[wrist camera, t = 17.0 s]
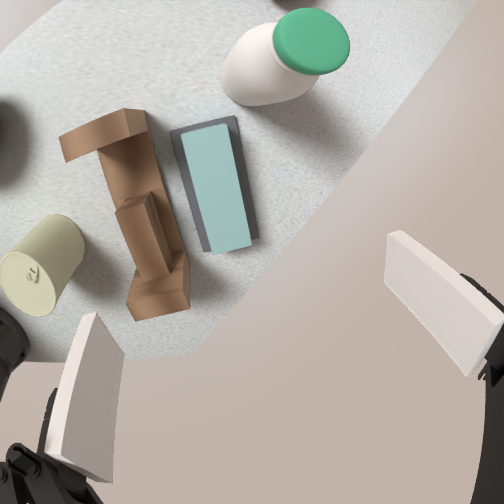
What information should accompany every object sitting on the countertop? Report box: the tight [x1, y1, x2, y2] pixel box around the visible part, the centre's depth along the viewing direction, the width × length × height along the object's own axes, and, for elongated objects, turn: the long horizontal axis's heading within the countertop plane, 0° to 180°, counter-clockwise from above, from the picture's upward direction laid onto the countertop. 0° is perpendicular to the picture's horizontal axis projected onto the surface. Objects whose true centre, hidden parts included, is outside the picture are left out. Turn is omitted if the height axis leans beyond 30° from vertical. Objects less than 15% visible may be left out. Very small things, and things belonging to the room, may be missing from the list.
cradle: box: [59, 108, 190, 321], centre depth 29 cm, size 7×22×10 cm, turn 11°
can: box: [0, 214, 85, 317], centre depth 28 cm, size 9×9×12 cm
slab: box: [181, 123, 252, 255], centre depth 32 cm, size 5×15×4 cm, turn 11°
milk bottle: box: [220, 8, 350, 106], centre depth 20 cm, size 8×8×20 cm
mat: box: [170, 115, 259, 252], centre depth 34 cm, size 8×17×1 cm, turn 11°
